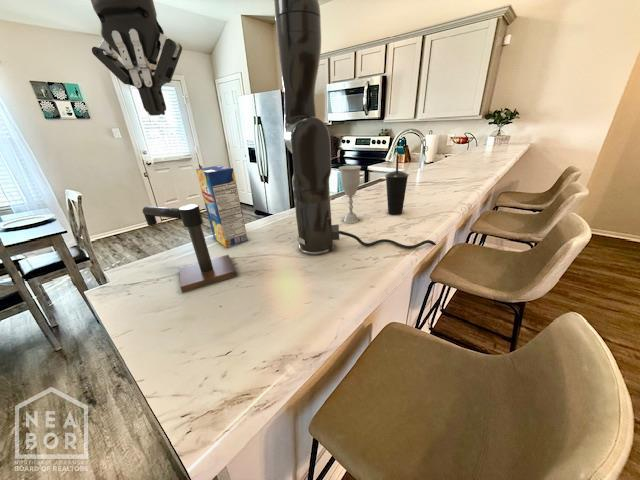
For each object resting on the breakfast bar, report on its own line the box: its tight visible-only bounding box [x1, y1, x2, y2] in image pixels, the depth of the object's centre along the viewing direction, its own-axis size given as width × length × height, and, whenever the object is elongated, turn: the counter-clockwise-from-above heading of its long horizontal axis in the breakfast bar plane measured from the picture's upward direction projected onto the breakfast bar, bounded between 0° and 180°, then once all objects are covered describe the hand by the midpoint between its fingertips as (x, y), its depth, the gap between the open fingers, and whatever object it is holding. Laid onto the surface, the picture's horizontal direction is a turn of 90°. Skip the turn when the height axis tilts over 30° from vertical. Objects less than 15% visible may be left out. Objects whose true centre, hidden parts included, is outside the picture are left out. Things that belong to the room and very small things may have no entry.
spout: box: [142, 204, 204, 228], centre depth 61 cm, size 17×4×5 cm, turn 68°
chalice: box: [338, 165, 362, 224], centre depth 87 cm, size 7×7×18 cm
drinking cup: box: [384, 154, 410, 216], centre depth 90 cm, size 8×8×20 cm
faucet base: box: [179, 224, 238, 293], centre depth 62 cm, size 12×10×13 cm
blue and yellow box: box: [195, 165, 249, 248], centre depth 79 cm, size 7×11×22 cm, turn 40°
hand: (157, 115), depth 42 cm, fingers closed
